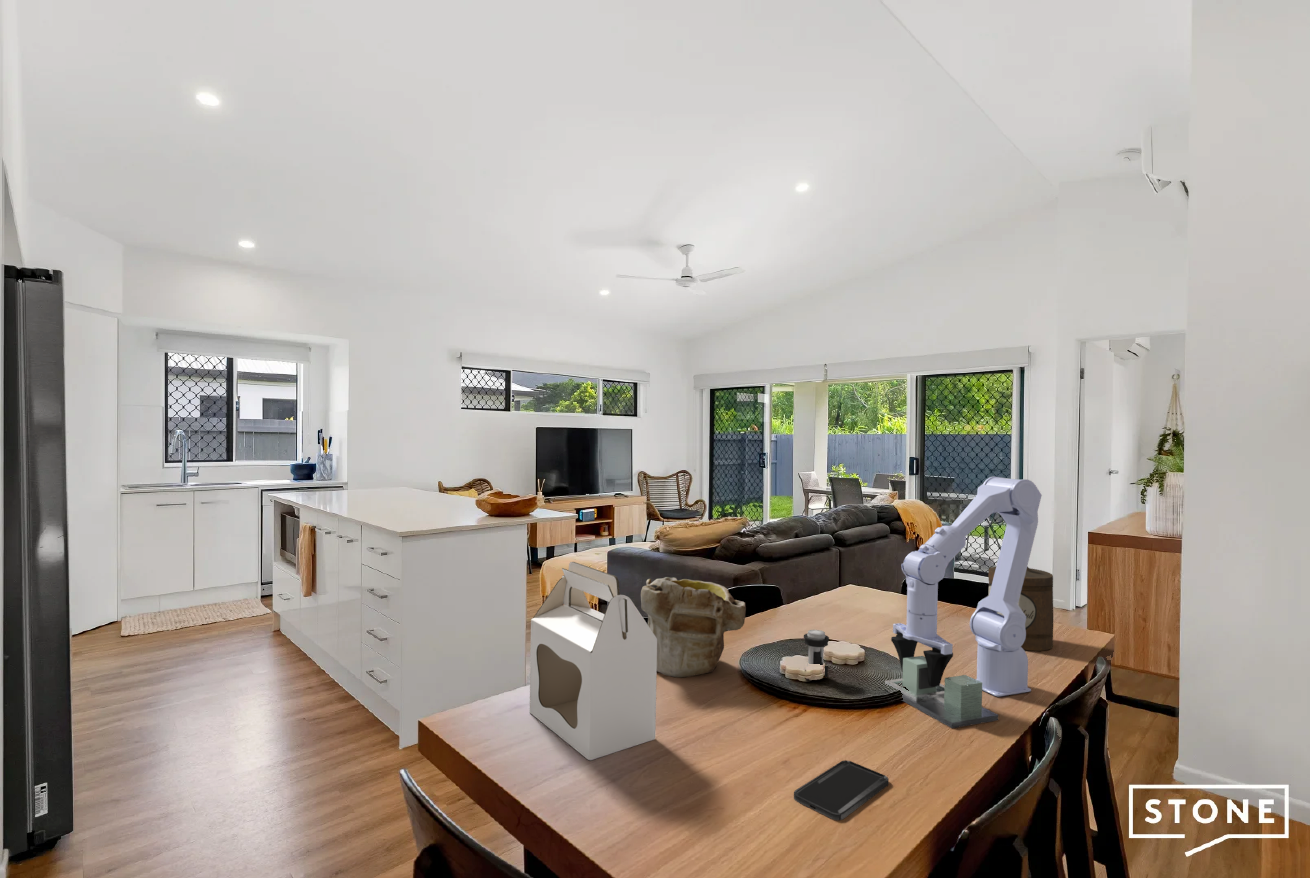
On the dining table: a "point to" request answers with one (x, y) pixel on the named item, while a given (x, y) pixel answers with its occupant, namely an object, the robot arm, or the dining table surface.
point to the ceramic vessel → (689, 623)
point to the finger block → (916, 675)
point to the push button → (816, 647)
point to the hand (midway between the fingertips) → (920, 678)
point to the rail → (947, 716)
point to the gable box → (593, 666)
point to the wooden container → (1035, 608)
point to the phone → (841, 789)
